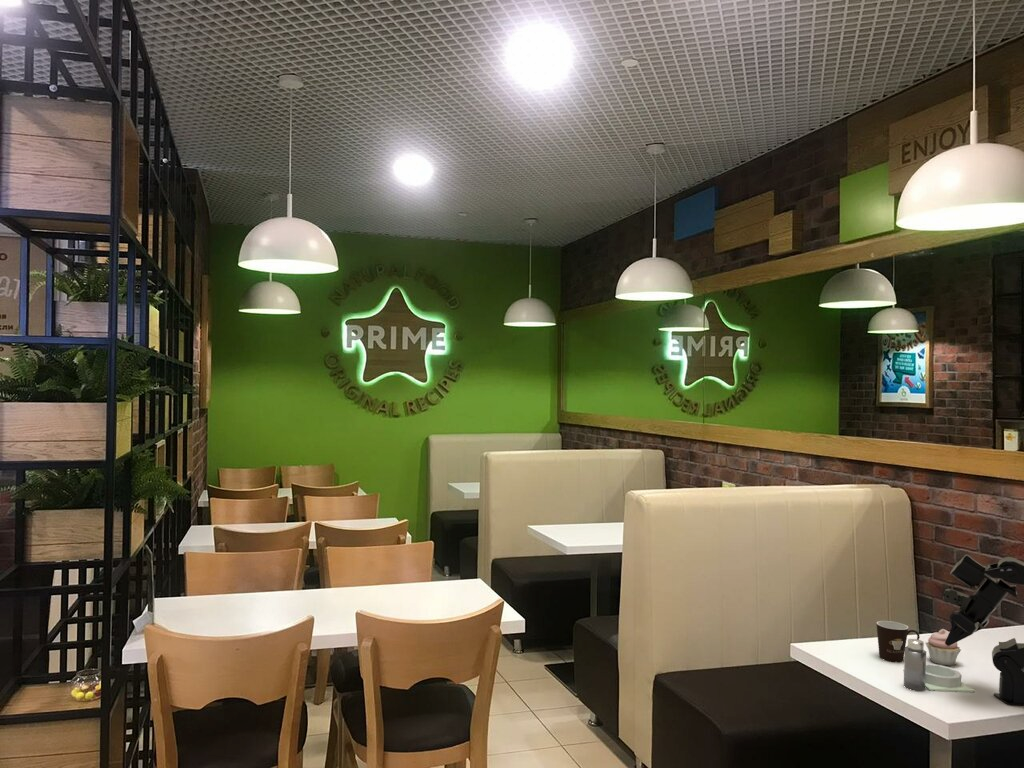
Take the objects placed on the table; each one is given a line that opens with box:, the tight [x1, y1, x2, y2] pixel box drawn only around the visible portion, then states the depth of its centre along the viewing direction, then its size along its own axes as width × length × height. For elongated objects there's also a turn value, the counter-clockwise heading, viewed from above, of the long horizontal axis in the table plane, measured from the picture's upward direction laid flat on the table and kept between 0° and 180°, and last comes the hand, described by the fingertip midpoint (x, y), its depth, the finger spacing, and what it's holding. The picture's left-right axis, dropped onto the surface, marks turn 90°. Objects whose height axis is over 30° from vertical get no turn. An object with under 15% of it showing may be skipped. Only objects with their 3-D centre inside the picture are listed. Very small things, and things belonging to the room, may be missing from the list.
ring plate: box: [903, 662, 975, 693], centre depth 214 cm, size 14×12×3 cm
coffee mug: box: [876, 620, 921, 663], centre depth 231 cm, size 12×9×10 cm
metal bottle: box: [903, 638, 927, 692], centre depth 209 cm, size 5×5×12 cm
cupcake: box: [924, 628, 962, 667], centre depth 230 cm, size 9×9×10 cm
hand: (950, 642), depth 209 cm, fingers open, 9 cm apart
